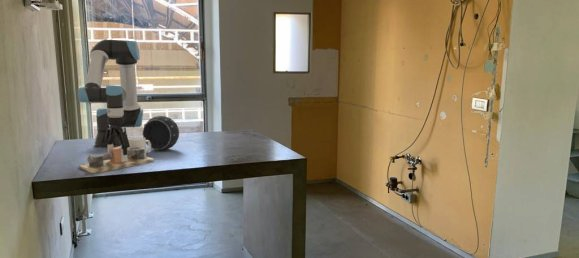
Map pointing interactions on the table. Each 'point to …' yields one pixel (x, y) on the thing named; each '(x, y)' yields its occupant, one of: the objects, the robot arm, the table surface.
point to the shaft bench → (100, 165)
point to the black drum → (161, 132)
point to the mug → (139, 144)
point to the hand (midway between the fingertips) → (117, 159)
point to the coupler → (116, 155)
